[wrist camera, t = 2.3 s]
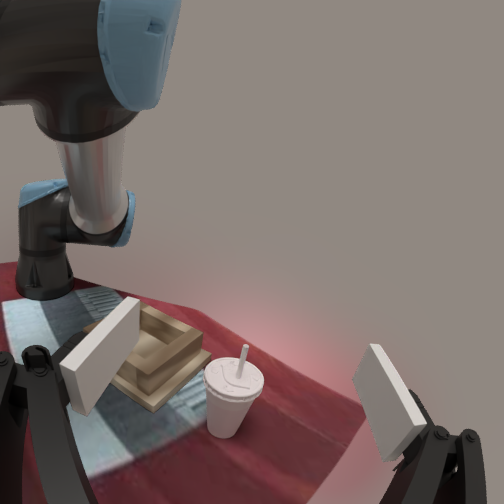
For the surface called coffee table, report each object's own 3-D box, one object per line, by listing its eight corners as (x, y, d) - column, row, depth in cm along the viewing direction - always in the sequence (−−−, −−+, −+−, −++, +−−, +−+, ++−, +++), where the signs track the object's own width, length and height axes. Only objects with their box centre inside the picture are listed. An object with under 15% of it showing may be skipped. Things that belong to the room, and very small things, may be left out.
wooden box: (76, 354, 33) (72, 325, 32) (138, 322, 47) (138, 296, 46) (153, 413, 28) (152, 385, 27) (210, 360, 42) (215, 333, 41)
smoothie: (216, 454, 25) (237, 372, 21) (186, 419, 29) (196, 332, 25) (257, 433, 29) (288, 351, 25) (226, 403, 33) (245, 320, 30)
